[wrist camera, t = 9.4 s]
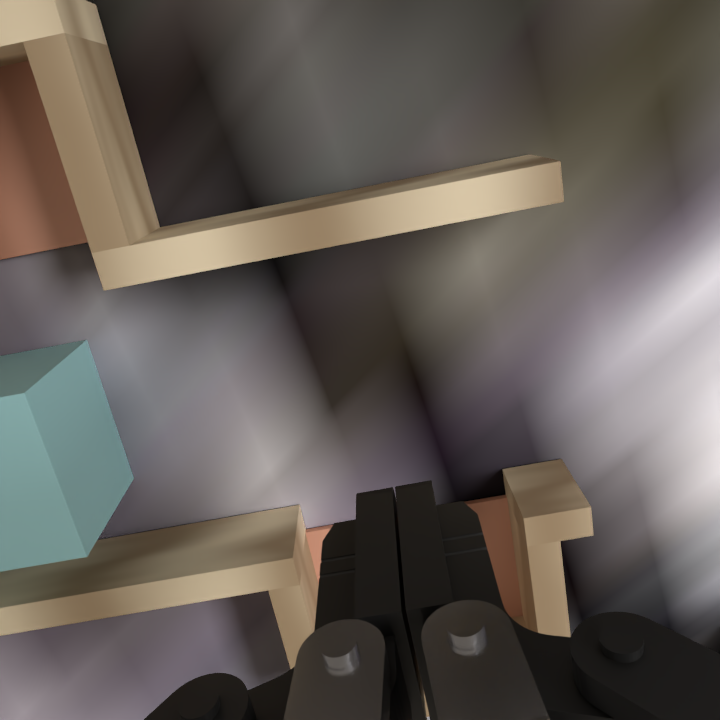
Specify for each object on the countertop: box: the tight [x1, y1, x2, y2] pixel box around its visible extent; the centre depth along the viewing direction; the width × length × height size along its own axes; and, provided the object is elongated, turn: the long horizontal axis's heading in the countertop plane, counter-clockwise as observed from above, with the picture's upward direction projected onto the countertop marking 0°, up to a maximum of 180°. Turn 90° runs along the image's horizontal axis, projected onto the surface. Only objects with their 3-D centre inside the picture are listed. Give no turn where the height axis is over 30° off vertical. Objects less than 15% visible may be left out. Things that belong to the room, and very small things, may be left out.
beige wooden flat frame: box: [0, 0, 593, 717], centre depth 20 cm, size 22×23×4 cm
